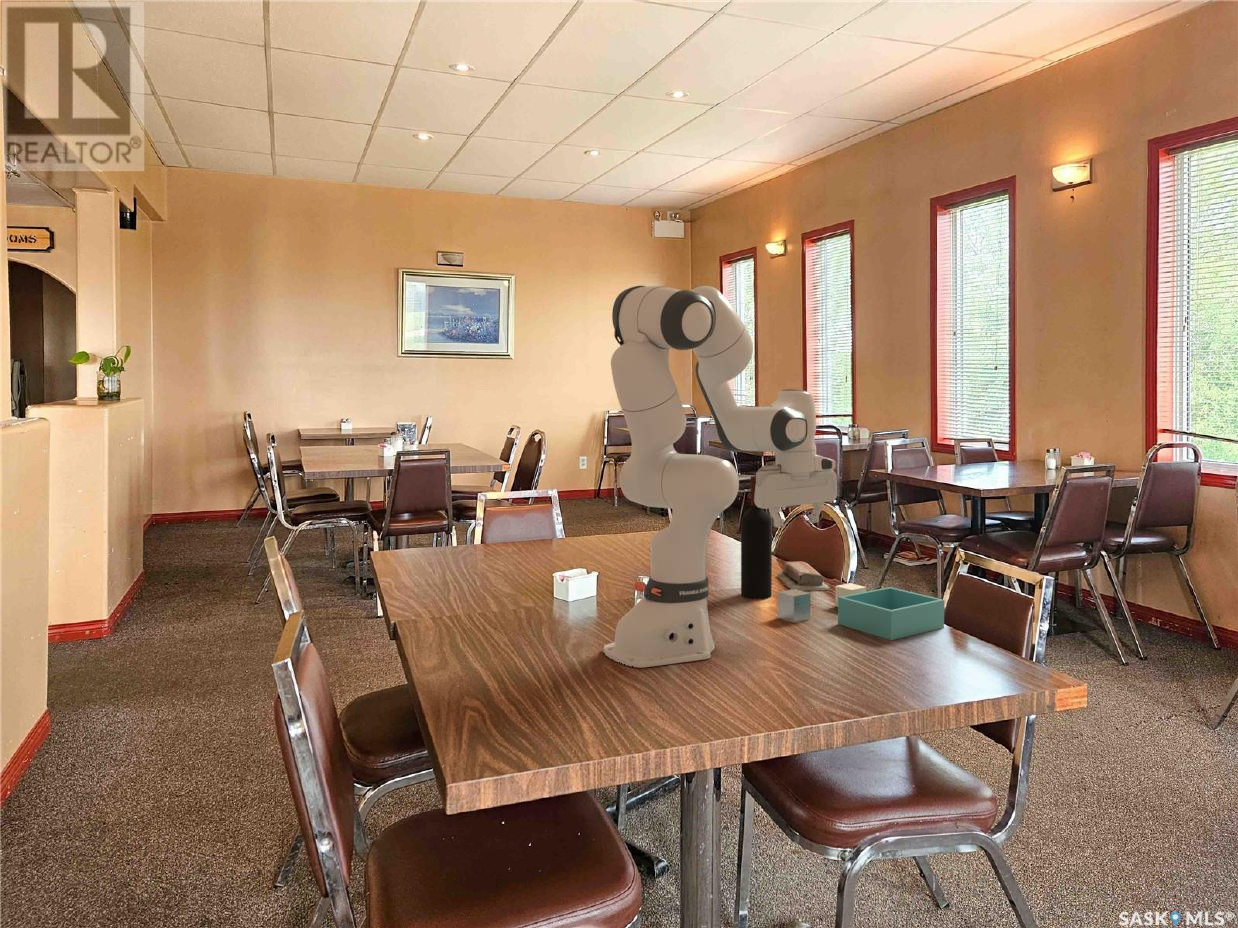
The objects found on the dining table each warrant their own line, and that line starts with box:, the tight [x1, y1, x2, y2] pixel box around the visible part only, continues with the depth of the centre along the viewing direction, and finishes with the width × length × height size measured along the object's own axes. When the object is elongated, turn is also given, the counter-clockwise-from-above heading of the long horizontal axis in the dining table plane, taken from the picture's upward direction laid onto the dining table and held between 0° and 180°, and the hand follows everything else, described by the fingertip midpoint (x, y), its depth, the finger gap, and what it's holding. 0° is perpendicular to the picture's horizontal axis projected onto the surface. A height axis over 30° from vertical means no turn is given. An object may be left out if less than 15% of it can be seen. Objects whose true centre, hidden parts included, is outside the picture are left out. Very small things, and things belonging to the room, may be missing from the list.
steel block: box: [777, 589, 811, 624], centre depth 188 cm, size 5×5×6 cm
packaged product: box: [776, 560, 831, 592], centre depth 223 cm, size 18×5×10 cm
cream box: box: [834, 582, 868, 608], centre depth 198 cm, size 5×5×5 cm
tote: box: [837, 586, 945, 641], centre depth 181 cm, size 17×15×6 cm
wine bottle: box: [740, 475, 773, 600], centre depth 209 cm, size 8×8×30 cm
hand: (796, 524), depth 186 cm, fingers open, 8 cm apart
